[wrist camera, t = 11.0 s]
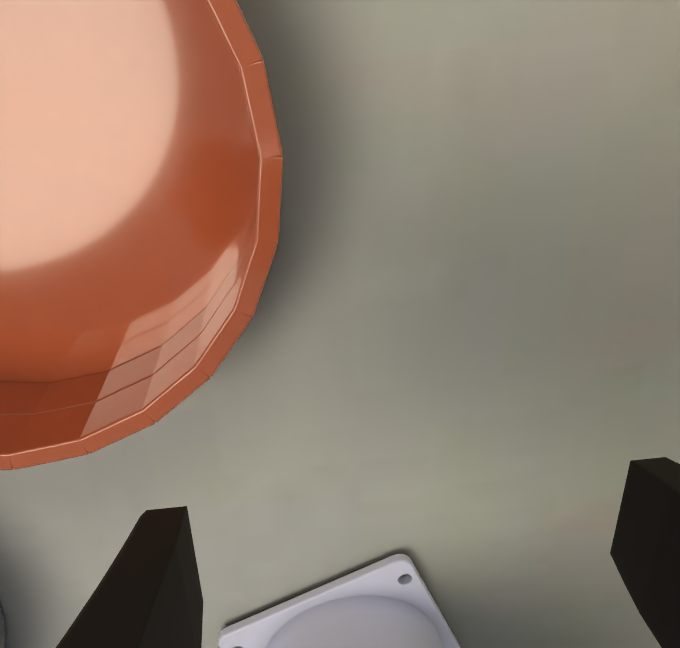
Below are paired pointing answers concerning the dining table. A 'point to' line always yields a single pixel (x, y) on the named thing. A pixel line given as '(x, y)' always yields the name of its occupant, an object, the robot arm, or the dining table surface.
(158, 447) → the dining table surface
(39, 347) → the terracotta bowl
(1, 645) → the slate bowl
